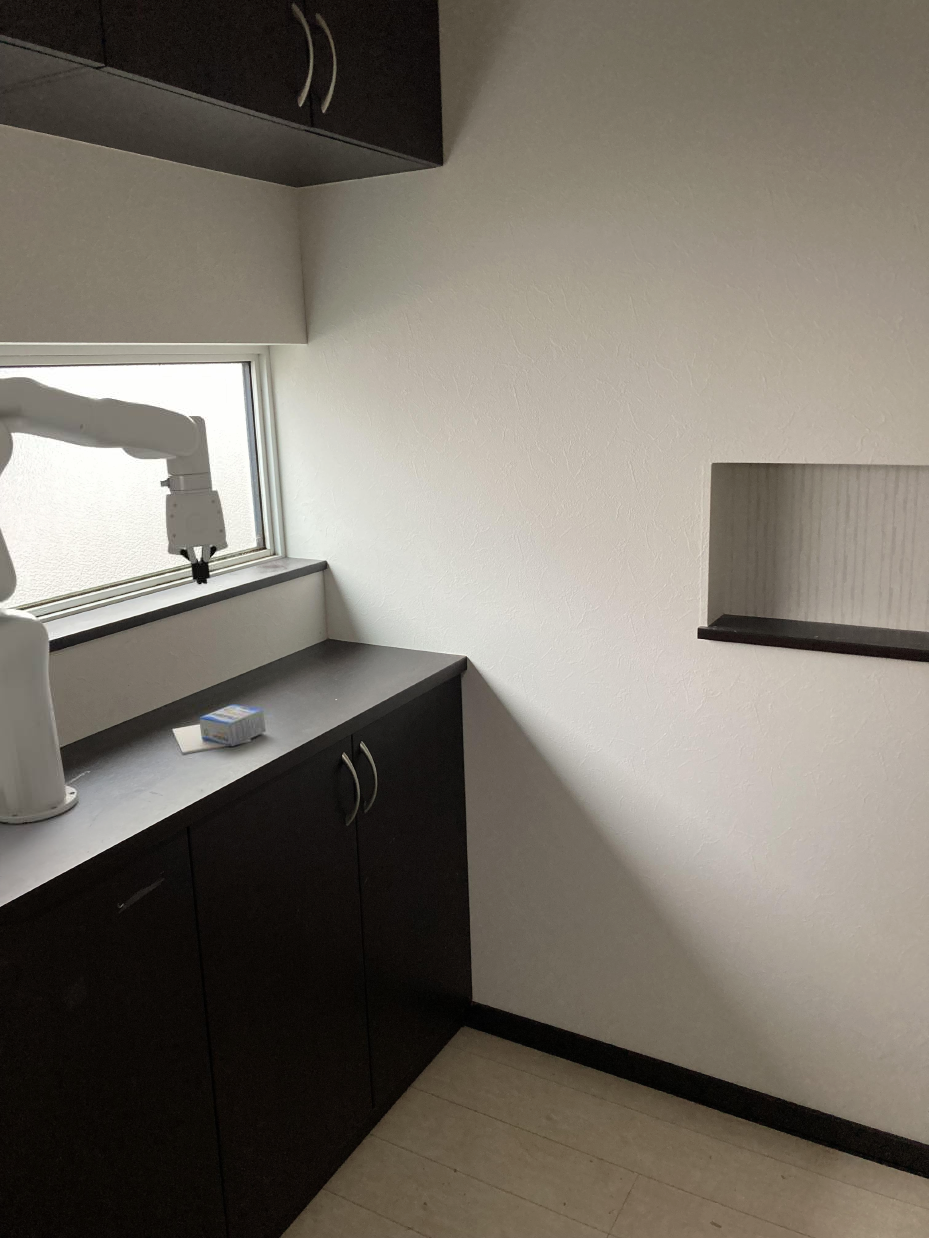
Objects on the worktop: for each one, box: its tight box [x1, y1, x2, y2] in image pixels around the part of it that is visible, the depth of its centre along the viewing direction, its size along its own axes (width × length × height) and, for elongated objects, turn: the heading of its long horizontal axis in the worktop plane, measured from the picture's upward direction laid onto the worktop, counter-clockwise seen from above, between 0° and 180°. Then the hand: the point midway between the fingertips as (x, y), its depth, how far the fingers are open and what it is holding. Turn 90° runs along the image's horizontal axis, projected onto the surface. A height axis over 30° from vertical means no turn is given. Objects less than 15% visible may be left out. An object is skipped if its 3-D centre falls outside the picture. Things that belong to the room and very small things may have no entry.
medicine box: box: [199, 703, 266, 747], centre depth 185 cm, size 8×4×9 cm
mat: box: [172, 723, 252, 755], centre depth 187 cm, size 12×14×1 cm
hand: (201, 582), depth 189 cm, fingers closed
